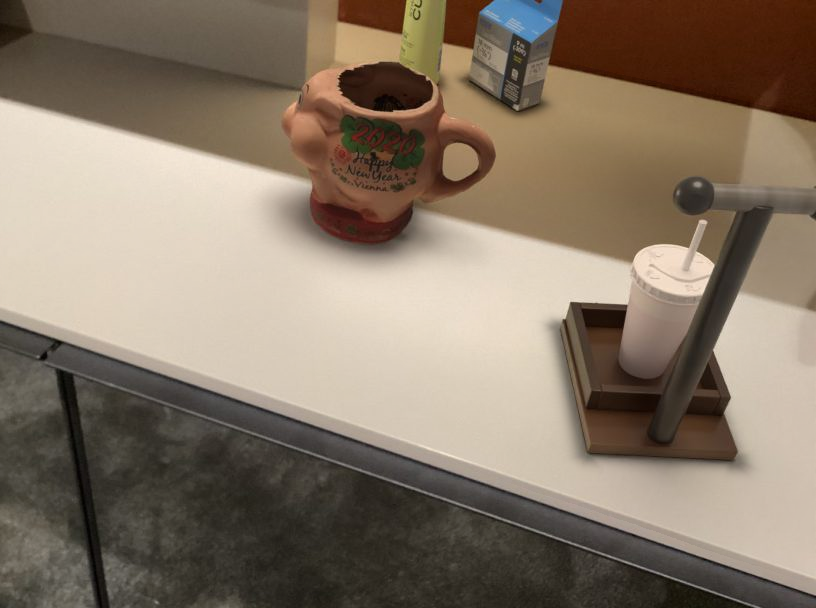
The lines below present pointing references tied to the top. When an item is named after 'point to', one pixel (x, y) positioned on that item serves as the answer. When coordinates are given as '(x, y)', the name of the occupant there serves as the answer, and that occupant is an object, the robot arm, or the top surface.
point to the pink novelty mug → (377, 147)
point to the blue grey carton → (514, 49)
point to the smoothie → (662, 304)
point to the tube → (423, 36)
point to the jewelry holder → (694, 359)
